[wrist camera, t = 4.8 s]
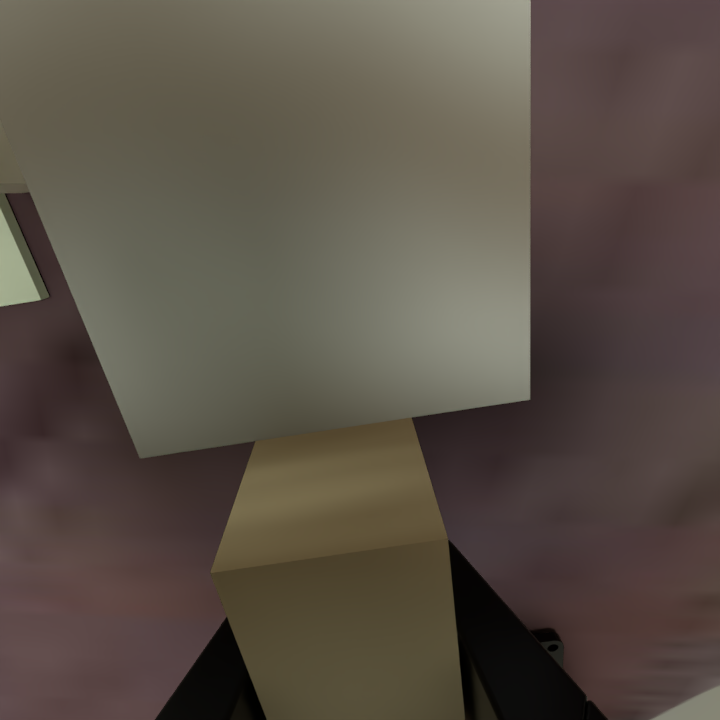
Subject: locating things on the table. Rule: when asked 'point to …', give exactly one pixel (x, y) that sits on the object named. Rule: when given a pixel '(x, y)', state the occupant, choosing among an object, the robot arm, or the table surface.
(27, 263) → the mat
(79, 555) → the table surface
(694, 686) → the table surface
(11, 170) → the tile
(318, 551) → the turner
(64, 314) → the table surface
